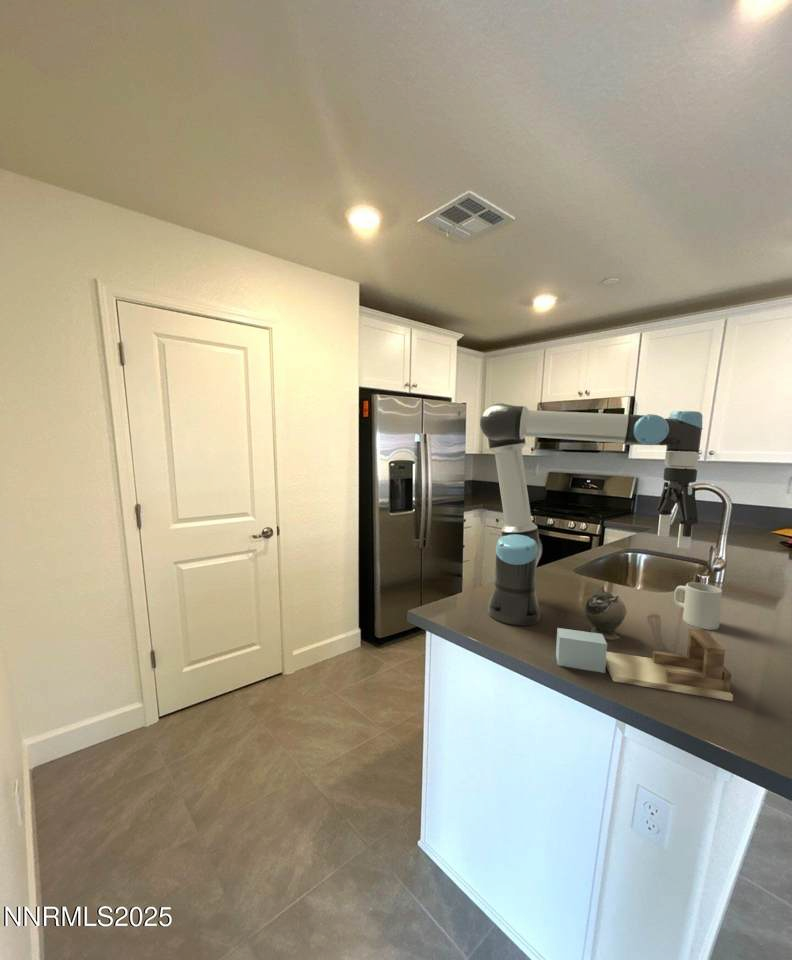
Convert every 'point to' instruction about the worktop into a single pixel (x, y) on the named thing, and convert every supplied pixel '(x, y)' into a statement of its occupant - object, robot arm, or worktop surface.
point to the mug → (700, 605)
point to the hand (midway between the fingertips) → (672, 541)
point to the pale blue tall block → (581, 650)
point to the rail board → (677, 668)
